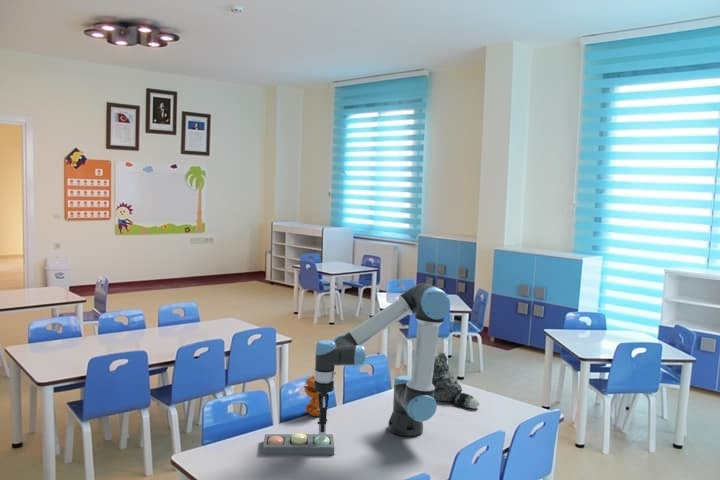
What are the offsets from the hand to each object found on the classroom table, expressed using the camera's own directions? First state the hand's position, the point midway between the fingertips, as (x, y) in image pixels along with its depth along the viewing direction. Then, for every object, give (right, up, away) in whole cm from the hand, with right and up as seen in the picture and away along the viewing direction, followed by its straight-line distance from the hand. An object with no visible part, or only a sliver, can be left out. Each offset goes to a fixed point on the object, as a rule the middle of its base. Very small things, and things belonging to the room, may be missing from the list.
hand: (321, 438), depth 231 cm
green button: (0, -3, 0) cm, 3 cm away
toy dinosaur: (-6, -1, +35) cm, 36 cm away
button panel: (-9, -3, -1) cm, 10 cm away
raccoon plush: (+61, -1, +63) cm, 88 cm away
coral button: (-18, -2, -2) cm, 18 cm away
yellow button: (-9, -1, -1) cm, 9 cm away
